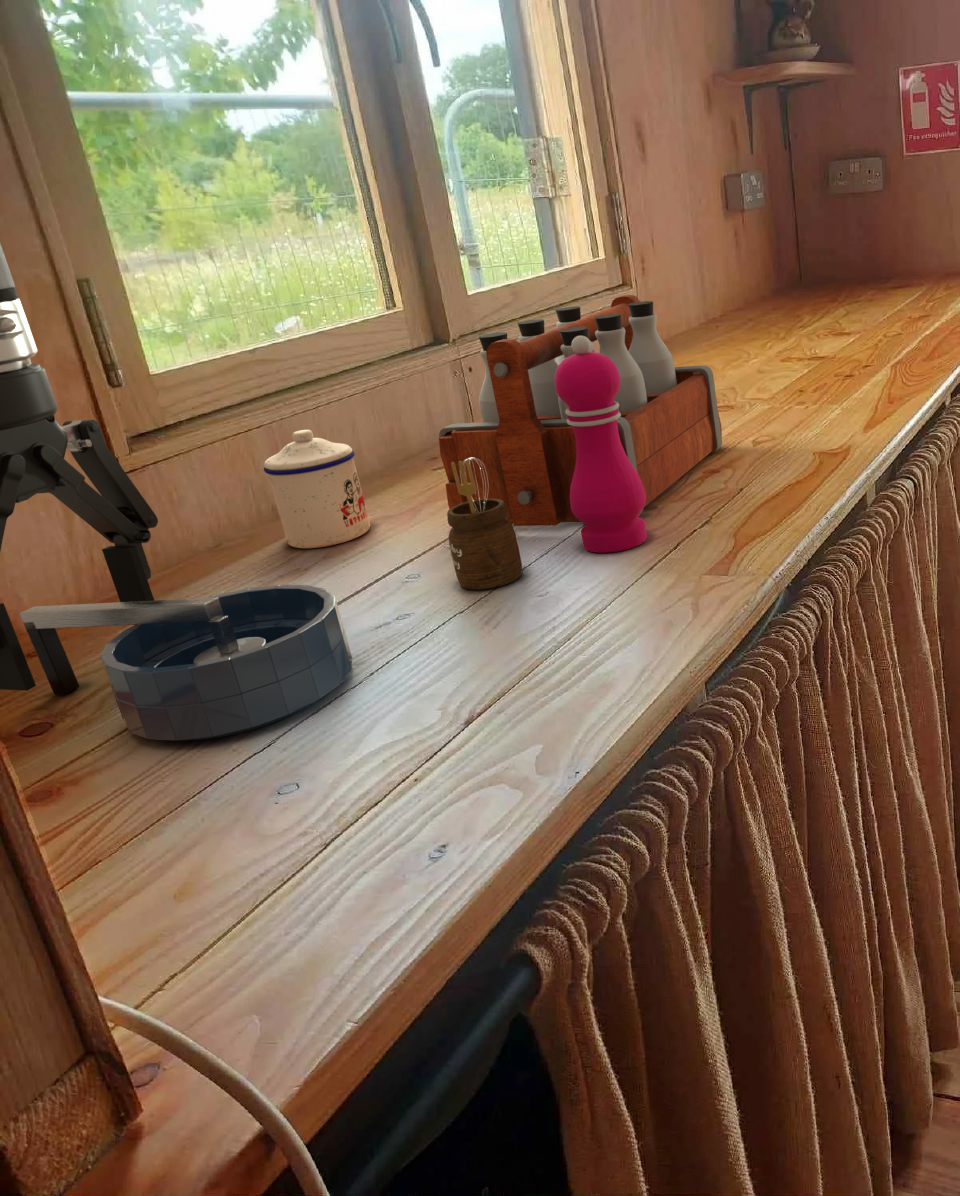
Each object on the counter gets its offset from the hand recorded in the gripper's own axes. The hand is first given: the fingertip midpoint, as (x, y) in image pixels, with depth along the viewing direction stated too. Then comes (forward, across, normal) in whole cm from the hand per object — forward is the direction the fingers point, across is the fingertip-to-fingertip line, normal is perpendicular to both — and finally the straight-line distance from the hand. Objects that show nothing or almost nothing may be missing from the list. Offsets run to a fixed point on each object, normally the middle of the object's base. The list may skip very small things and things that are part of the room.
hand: (85, 653), depth 87 cm
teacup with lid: (+4, +38, +7) cm, 39 cm away
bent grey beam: (+3, 0, -6) cm, 7 cm away
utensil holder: (+4, +24, -21) cm, 32 cm away
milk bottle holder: (+4, +54, -18) cm, 57 cm away
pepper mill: (+4, +34, -29) cm, 45 cm away
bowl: (+3, 0, -14) cm, 14 cm away
